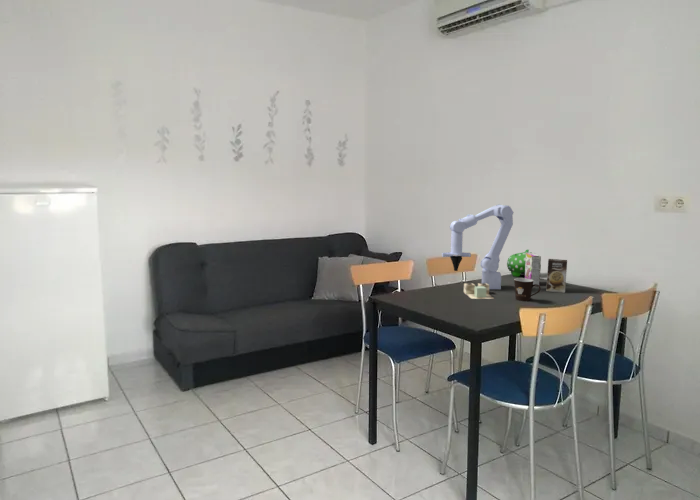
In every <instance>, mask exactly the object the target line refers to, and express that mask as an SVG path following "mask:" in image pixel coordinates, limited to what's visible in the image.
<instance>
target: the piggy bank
mask: <svg viewBox="0 0 700 500" xmlns="http://www.w3.org/2000/svg"><path fill="white" fill-rule="evenodd" d="M529 250H530V249H526V250H525V251H524V252H523V251H522V252H517V253H513V254H511V255H510V256H508V259H507V261H506V266H507V267H506V268H507V269H508V270H509V272H510V273H511V275H512V276H513V278H515V277H516V278H519V277H520V276H521V275H523V276H524V277H525V261H526V253H533V252H529ZM541 266H542V265H541ZM541 266H540V271H541Z"/></svg>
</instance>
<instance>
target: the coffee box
mask: <svg viewBox="0 0 700 500" xmlns="http://www.w3.org/2000/svg"><path fill="white" fill-rule="evenodd" d="M547 260H548V261H547V276H546V287H545V288H546V289H545V290H546V291H545V292H552V293H553V292H554V293H563V294H564V293H566V285H567V270H568V259H559V258H557V259H556V258H548V259H547Z"/></svg>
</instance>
